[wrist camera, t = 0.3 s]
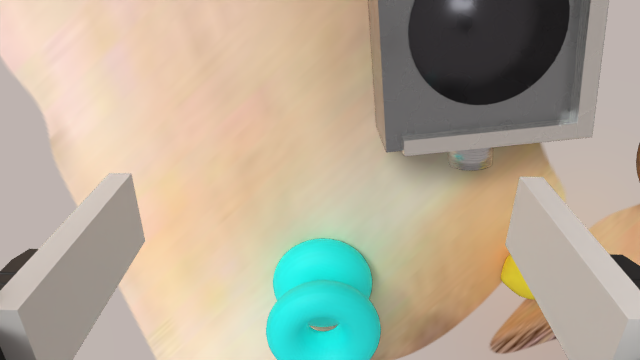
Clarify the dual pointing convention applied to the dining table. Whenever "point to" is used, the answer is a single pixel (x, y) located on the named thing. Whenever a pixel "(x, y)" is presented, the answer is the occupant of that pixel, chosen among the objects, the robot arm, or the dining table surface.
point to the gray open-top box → (484, 74)
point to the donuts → (323, 304)
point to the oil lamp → (638, 162)
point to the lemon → (515, 279)
